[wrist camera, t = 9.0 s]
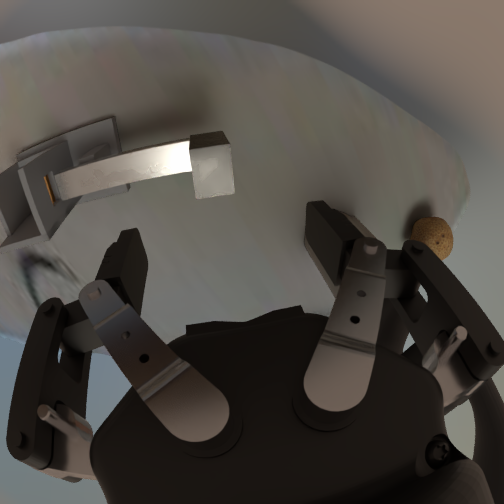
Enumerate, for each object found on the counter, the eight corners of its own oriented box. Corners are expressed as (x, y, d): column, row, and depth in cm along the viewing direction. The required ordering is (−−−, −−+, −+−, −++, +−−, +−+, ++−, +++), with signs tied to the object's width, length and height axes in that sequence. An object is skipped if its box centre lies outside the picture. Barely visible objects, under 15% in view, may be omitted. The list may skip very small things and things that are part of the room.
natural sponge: (437, 209, 46) (469, 235, 38) (421, 244, 51) (448, 272, 43) (412, 202, 44) (446, 229, 36) (394, 241, 48) (424, 272, 40)
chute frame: (115, 116, 27) (75, 135, 17) (130, 187, 33) (105, 236, 23) (21, 152, 25) (-30, 186, 15) (40, 212, 31) (1, 261, 21)
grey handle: (221, 128, 24) (230, 143, 18) (224, 165, 27) (234, 193, 21) (58, 166, 22) (25, 194, 16) (68, 199, 25) (40, 234, 19)
